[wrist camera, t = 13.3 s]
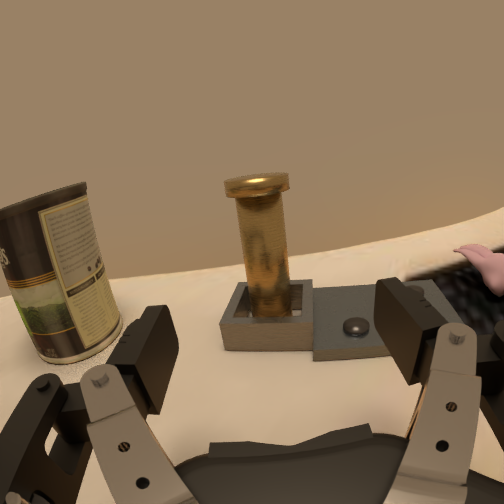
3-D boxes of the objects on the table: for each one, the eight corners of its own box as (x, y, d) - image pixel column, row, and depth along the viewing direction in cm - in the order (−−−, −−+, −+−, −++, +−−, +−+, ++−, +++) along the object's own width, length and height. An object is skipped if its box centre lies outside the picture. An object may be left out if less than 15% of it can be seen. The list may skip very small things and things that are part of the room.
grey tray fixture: (221, 360, 20) (214, 333, 20) (244, 299, 29) (241, 276, 28) (466, 343, 17) (475, 315, 16) (430, 288, 25) (433, 265, 24)
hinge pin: (242, 342, 22) (215, 185, 18) (252, 312, 26) (232, 176, 22) (299, 341, 21) (286, 177, 17) (301, 311, 25) (289, 170, 21)
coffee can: (43, 380, 18) (-24, 218, 13) (35, 331, 26) (-6, 211, 21) (139, 335, 24) (96, 177, 20) (108, 300, 32) (77, 183, 27)
